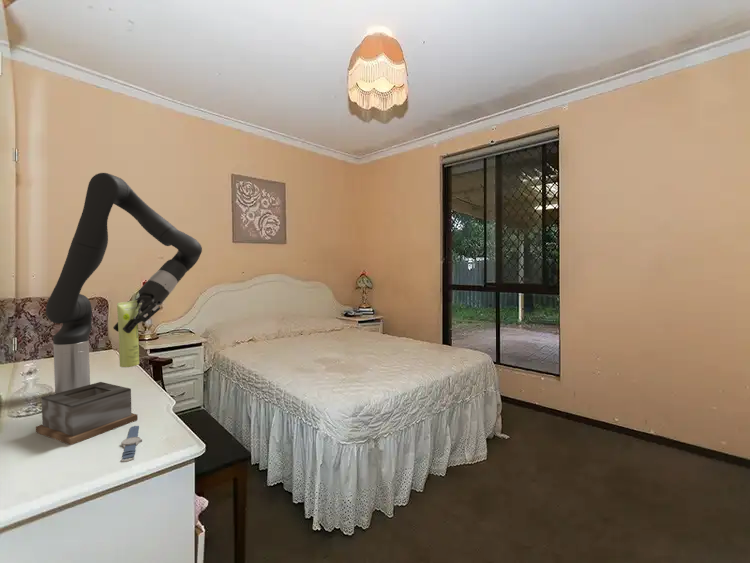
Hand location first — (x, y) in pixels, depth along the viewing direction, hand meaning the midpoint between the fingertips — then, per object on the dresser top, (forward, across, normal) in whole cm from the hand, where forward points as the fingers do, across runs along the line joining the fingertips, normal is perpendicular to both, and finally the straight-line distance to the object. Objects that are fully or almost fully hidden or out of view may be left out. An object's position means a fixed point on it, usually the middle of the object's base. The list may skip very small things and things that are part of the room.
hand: (121, 330), depth 110 cm
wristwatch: (+26, +23, +9) cm, 35 cm away
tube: (+7, 0, +9) cm, 11 cm away
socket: (+24, +3, +9) cm, 26 cm away
